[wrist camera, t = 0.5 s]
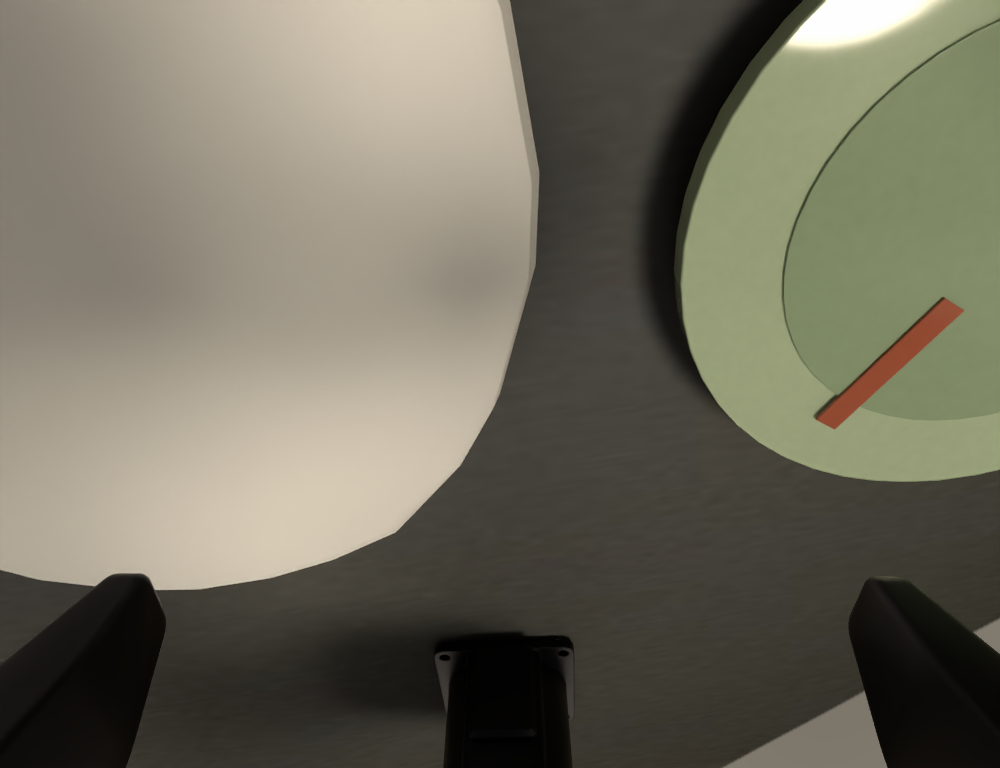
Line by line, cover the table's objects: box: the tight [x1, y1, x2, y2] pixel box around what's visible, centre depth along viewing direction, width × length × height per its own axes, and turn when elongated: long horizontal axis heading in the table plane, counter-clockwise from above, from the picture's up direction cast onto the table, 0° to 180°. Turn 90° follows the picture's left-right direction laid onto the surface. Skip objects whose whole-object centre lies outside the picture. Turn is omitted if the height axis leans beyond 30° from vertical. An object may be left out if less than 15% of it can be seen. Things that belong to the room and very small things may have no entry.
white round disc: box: [0, 0, 539, 590], centre depth 17 cm, size 28×6×27 cm
